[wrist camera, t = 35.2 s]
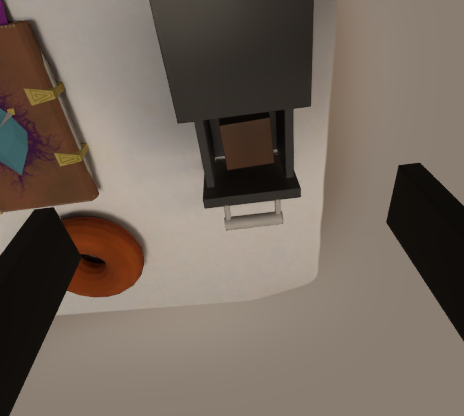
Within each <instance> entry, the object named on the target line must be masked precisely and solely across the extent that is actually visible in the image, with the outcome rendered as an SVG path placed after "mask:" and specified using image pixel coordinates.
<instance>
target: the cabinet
mask: <svg viewBox="0 0 464 416" xmlns="http://www.w3.org/2000/svg"><path fill="white" fill-rule="evenodd" d="M149 1H150V6H151V10H152V14H153V19H154V23H155V27H156V32H157V36H158V40H159V45H160V49H161V53H162V57H163V62H164V66H165V70H166V75H167V79H168V83H169V88H170V92H171V96H172V100H173V105H174V109H175V113H176V118H177V122H178V124H179V123H186V122H194V121H202V120H209V119H217V118H225V117H232V116H240V115H248V114H255V113H263V112H271V111H279V110H286V109H294V108H302V107H309V106H311V82H312V46H313V10H314V0H149Z"/></svg>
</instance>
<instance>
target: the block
mask: <svg viewBox="0 0 464 416" xmlns="http://www.w3.org/2000/svg"><path fill="white" fill-rule="evenodd" d="M219 129H220V134H221V139H222V144H223V150H224V155H225V160H226V165H227V170H231V169H238V168H244V167H251V166H257V165H263V164H270V163H274V152H273V141H272V130H271V119H270V115H269V112H263V113H255V114H248V115H240V116H232V117H225V118H219Z"/></svg>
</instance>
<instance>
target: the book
mask: <svg viewBox="0 0 464 416" xmlns="http://www.w3.org/2000/svg"><path fill="white" fill-rule="evenodd" d="M64 90H65V88H64V85H63V83H62V82H56V81H55V79H54V76H53V74H52V71H51V69H50V66H49V64H48V62H47V61H46V59H45V57H44V55H43V54H42V52H41V50H40V48H39V46H38V43H37V41H36V38H35V36H34V33H33V31H32V29H31V26H30V24H29V21H26V20H25V21H17V22H8V20H7V17H6V13H5V9H4V5H3V2H2V0H0V214H2V213H3V212H8V211H16V210H24V209H31V208H39V207H47V206H55V205H63V204H71V203H78V202H86V201H92V200H94V199H95V198H96V197H98V195H99V192H98V189H97V187H96V185H95V182H94V179H93V175H92V171H91V168H90V165H89V163H88V160H87V158H86V155H85V154H86V153H87V151H88V146H87V144H86V143H80V140H79V138H78V135H77V133H76V131H75V128H74V126H73V123H72V121H71V118H70V116H69V113H68V111H67V108H66V106H65V103H64V101H63V99H62V96H61V93H62V92H63V91H64Z"/></svg>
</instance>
